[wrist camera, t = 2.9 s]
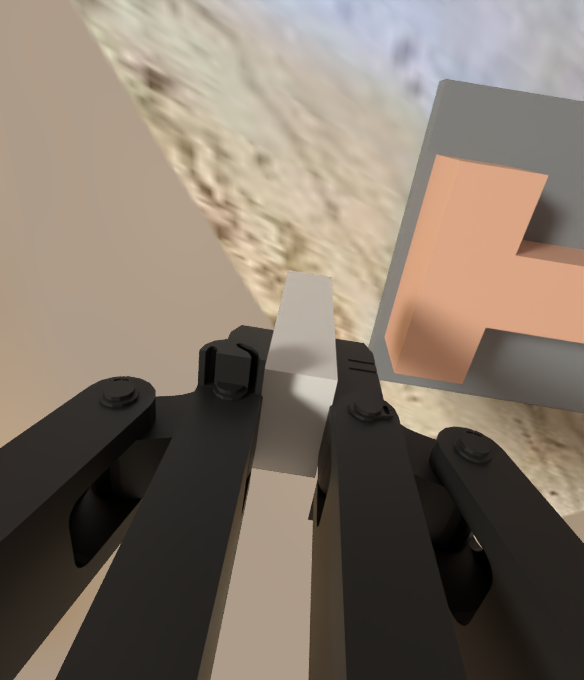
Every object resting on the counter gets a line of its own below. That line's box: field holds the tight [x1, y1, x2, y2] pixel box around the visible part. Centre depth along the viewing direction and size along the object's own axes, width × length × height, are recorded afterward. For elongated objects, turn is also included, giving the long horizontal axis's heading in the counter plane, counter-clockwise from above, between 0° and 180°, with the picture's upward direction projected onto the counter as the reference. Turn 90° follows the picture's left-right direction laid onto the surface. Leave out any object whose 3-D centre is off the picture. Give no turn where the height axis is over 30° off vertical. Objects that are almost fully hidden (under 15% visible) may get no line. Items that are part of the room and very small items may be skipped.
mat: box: [368, 79, 584, 413], centre depth 22 cm, size 16×17×1 cm
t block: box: [384, 154, 584, 384], centre depth 20 cm, size 10×10×4 cm
